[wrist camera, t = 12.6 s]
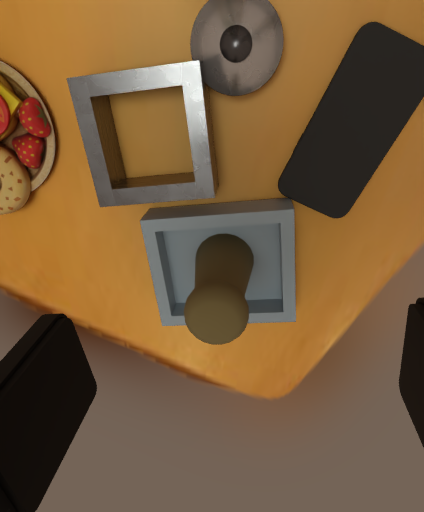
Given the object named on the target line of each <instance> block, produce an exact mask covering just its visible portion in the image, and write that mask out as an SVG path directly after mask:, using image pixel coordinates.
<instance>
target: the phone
mask: <svg viewBox="0 0 424 512" xmlns="http://www.w3.org/2000/svg"><path fill="white" fill-rule="evenodd" d="M423 97H424V46H423V45H421V44H419V43H417V42H415V41H413V40H411V39H409V38H408V37H406V36H404V35H402V34H400V33H398V32H396V31H394V30H392V29H390V28H388V27H386V26H384V25H382V24H380V23H377V22H370V23H367V24H365V25H364V26H362V27H361V28H360V29H359V31H358V32H357V34H356V35H355V37H354V39H353V41H352V43H351V44H350V46H349V48H348V50H347V52H346V54H345V56H344V58H343V60H342V61H341V63H340V65H339V67H338V69H337V71H336V73H335V75H334V76H333V78H332V80H331V82H330V84H329V86H328V88H327V90H326V92H325V93H324V95H323V97H322V99H321V101H320V103H319V105H318V107H317V109H316V110H315V112H314V114H313V116H312V118H311V120H310V122H309V124H308V125H307V127H306V129H305V131H304V133H303V134H302V136H301V138H300V139H299V141H298V143H297V145H296V147H295V149H294V151H293V154H292V156H291V158H290V159H289V161H288V163H287V165H286V167H285V169H284V171H283V173H282V175H281V177H280V179H279V182H278V188H279V191H280V192H281V193H282V194H283V195H284V196H286V197H288V198H290V199H292V200H294V201H297V202H299V203H301V204H303V205H305V206H307V207H310V208H312V209H314V210H316V211H318V212H320V213H323V214H325V215H327V216H329V217H332V218H341V217H343V216H345V215H346V214H347V213H348V212H349V210H350V209H351V207H352V206H353V204H354V203H355V201H356V200H357V198H358V197H359V195H360V194H361V192H362V191H363V189H364V187H365V186H366V184H367V183H368V181H369V180H370V178H371V177H372V175H373V174H374V172H375V171H376V169H377V168H378V166H379V164H380V163H381V161H382V160H383V158H384V157H385V155H386V154H387V152H388V151H389V149H390V148H391V146H392V145H393V143H394V141H395V140H396V138H397V137H398V135H399V134H400V132H401V131H402V129H403V128H404V126H405V125H406V123H407V121H408V120H409V118H410V117H411V115H412V114H413V112H414V111H415V109H416V108H417V106H418V105H419V103H420V102H421V100H422V98H423Z"/></svg>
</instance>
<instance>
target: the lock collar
mask: <svg viewBox="0 0 424 512" xmlns="http://www.w3.org/2000/svg"><path fill="white" fill-rule="evenodd" d="M190 45H191V55H192V59H193V61H189V62H182V63H175V64H167V65H160V66H153V67H145V68H138V69H131V70H124V71H116V72H109V73H102V74H94V75H87V76H80V77H72V78H67V82H68V86H69V89H70V93H71V97H72V101H73V105H74V109H75V113H76V116H77V120H78V124H79V128H80V132H81V136H82V140H83V143H84V147H85V151H86V155H87V159H88V163H89V166H90V170H91V174H92V178H93V182H94V186H95V190H96V193H97V197H98V201H99V205H100V207H107V206H119V205H131V204H144V203H156V202H168V201H180V200H193V199H205V198H215V196H216V192H217V189H218V186H219V184H218V175H217V165H216V156H215V147H214V137H213V128H212V119H211V109H210V100H209V90H208V86H210V87H211V88H212V89H214V90H216V91H217V92H220V93H222V94H226V95H231V96H240V95H245V94H248V93H251V92H253V91H255V90H257V89H259V88H260V87H262V86H263V85H264V84H265V83H266V82H267V81H268V80H269V79H270V78H271V76H272V75H273V73H274V72H275V70H276V68H277V66H278V64H279V61H280V59H281V55H282V50H283V29H282V25H281V21H280V18H279V16H278V14H277V12H276V10H275V9H274V7H273V6H272V4H271V3H270V2H269V1H268V0H209V1H208V2H207V3H206V4H205V5H204V6H203V8H202V9H201V10H200V12H199V14H198V15H197V17H196V20H195V22H194V25H193V29H192V33H191V44H190ZM175 86H183V94H184V101H185V108H186V116H187V123H188V131H189V138H190V145H191V153H192V160H193V168H194V172H189V173H179V174H168V175H157V176H146V177H135V178H126V175H125V171H124V166H123V161H122V157H121V152H120V148H119V143H118V139H117V134H116V129H115V125H114V120H113V116H112V111H111V107H110V102H109V97H108V95H112V94H120V93H128V92H136V91H144V90H152V89H159V88H167V87H175Z"/></svg>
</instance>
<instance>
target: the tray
mask: <svg viewBox="0 0 424 512" xmlns="http://www.w3.org/2000/svg"><path fill="white" fill-rule="evenodd" d="M140 223H141V228H142V233H143V238H144V242H145V247H146V252H147V256H148V261H149V266H150V270H151V275H152V280H153V284H154V289H155V294H156V299H157V303H158V308H159V313H160V317H161V322H162V326H175V325H186V323H185V317H184V307H185V303H186V300H187V297H188V296H189V295H190V293H191V292H192V291H193V289H194V288H195V257H196V253H197V249H198V247H199V246H200V245H201V243H202V242H203V241H204V240H206V239H207V238H208V237H210V236H213V235H216V234H225V233H228V234H231V235H235V236H238V237H239V238H241V239H242V240H244V241H245V242H246V243H247V244H248V245H249V247H250V248H251V250H252V253H253V256H254V265H253V268H252V272H251V275H250V279H249V282H248V286H247V290H246V293H245V299H246V301H247V303H248V306H249V320H248V322H247V323H270V322H296V297H295V229H294V207H293V204H292V201H291V199H290V198H276V199H264V200H251V201H238V202H226V203H213V204H201V205H188V206H175V207H163V208H150V209H149V210H148V211H147V212H146V214H145V215H144V216H143V217H142V219H141V220H140Z"/></svg>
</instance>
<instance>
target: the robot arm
mask: <svg viewBox="0 0 424 512" xmlns="http://www.w3.org/2000/svg"><path fill="white" fill-rule="evenodd" d="M399 387H400V393H401V396H402V398H403V401H404V403H405V405H406V408H407V410H408V412H409V415H410V417H411V419H412V422H413V424H414V426H415V428H416V431H417V433H418V435H419V438H420V440H421V443H422V445H423V447H424V298H418V299H417V301H416V304H410V305H409V308H408V316H407V324H406V331H405V339H404V347H403V354H402V362H401V370H400V377H399ZM96 391H97V385H96V381H95V379H94V376H93V374H92V371H91V368H90V366H89V363H88V361H87V358H86V355H85V353H84V351H83V348H82V345H81V343H80V340H79V337H78V335H77V332H76V330H75V327H74V325H73V322H72V320H71V319H69V318H67V316H66V315H64V314H44V315H42V316H41V317H40V318H39V319H38V320H37V321H36V322H35V323H34V324H33V326H32V327H31V328H30V329H29V330H28V331H27V332H26V333H25V334H24V336H23V337H22V338H21V339H20V340H19V341H18V342H17V343H16V344H15V346H14V347H13V348H12V349H11V350H10V351H9V352H8V353H7V355H6V356H5V357H4V358H3V359H2V360H1V361H0V512H35V511H36V510H37V508H38V507H39V505H40V503H41V501H42V499H43V497H44V495H45V493H46V491H47V489H48V487H49V485H50V483H51V481H52V479H53V477H54V475H55V473H56V472H57V470H58V468H59V466H60V464H61V462H62V460H63V458H64V456H65V454H66V452H67V450H68V448H69V446H70V444H71V442H72V440H73V438H74V436H75V434H76V432H77V430H78V429H79V426H80V424H81V423H82V421H83V419H84V417H85V415H86V413H87V411H88V409H89V406H90V405H91V403H92V401H93V399H94V397H95V395H96Z"/></svg>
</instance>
